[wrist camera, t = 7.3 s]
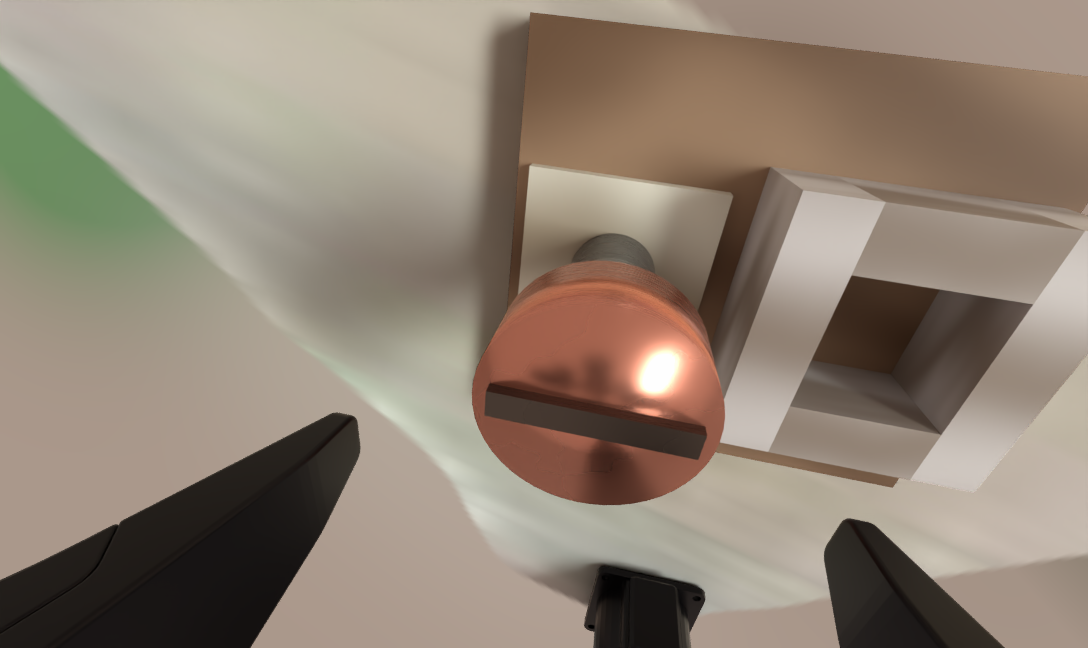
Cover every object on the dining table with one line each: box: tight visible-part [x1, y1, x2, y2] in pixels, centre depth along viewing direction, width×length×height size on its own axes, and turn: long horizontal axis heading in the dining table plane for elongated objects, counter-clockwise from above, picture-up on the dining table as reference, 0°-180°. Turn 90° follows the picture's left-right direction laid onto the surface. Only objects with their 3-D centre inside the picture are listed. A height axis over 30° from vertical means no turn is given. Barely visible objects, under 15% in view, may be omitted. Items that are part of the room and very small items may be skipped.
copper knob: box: [472, 233, 725, 505], centre depth 14 cm, size 6×6×9 cm
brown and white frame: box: [507, 12, 1088, 493], centre depth 17 cm, size 16×18×5 cm
